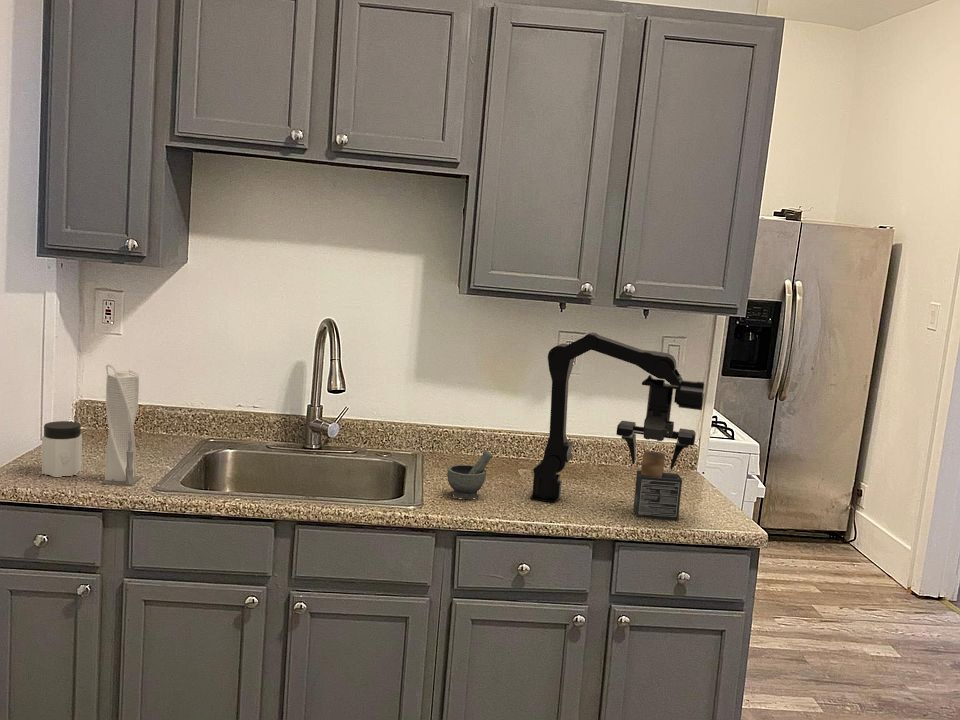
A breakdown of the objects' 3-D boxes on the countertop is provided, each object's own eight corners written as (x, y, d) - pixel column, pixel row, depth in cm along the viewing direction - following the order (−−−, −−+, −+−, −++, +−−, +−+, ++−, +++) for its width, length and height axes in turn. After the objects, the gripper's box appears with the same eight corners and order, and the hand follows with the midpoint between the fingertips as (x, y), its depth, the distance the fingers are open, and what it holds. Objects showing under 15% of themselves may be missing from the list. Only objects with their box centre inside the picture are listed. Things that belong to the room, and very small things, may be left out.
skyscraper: (95, 483, 221) (98, 366, 217) (108, 474, 229) (111, 361, 225) (131, 486, 221) (134, 369, 217) (143, 477, 229) (146, 364, 225)
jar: (45, 479, 221) (46, 429, 220) (38, 470, 228) (38, 422, 226) (85, 475, 227) (86, 427, 225) (77, 467, 233) (78, 420, 231)
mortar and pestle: (448, 501, 230) (452, 454, 228) (442, 490, 239) (446, 444, 237) (493, 502, 232) (497, 455, 230) (486, 491, 241) (489, 446, 239)
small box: (674, 513, 236) (678, 472, 234) (678, 521, 229) (683, 479, 228) (632, 509, 236) (636, 469, 234) (635, 517, 230) (640, 476, 228)
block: (640, 474, 229) (642, 455, 228) (642, 470, 234) (645, 450, 233) (661, 477, 228) (663, 458, 227) (662, 473, 233) (665, 453, 232)
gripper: (616, 405, 223) (610, 468, 225) (696, 415, 218) (688, 480, 221) (622, 397, 234) (616, 458, 236) (698, 407, 229) (691, 469, 231)
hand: (652, 466), depth 231 cm, fingers open, 9 cm apart
